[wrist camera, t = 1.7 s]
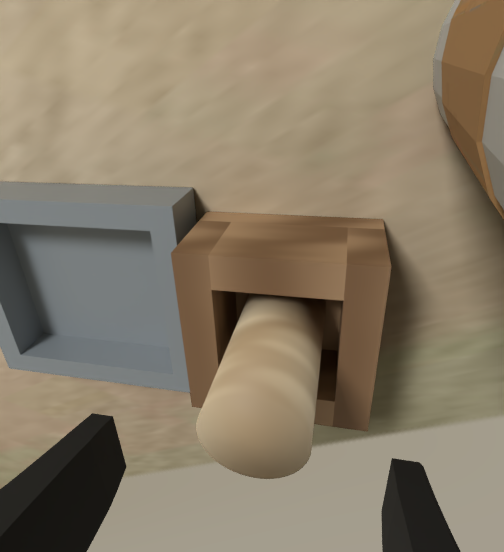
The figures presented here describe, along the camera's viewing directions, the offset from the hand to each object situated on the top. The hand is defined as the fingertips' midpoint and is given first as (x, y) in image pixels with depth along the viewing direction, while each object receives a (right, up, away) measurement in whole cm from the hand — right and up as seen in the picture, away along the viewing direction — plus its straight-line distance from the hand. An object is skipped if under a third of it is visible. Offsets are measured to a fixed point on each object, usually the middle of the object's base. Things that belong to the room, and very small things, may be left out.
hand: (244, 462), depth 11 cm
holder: (+2, +4, +7) cm, 9 cm away
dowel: (+2, +4, +7) cm, 8 cm away
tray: (-7, +5, +9) cm, 12 cm away
